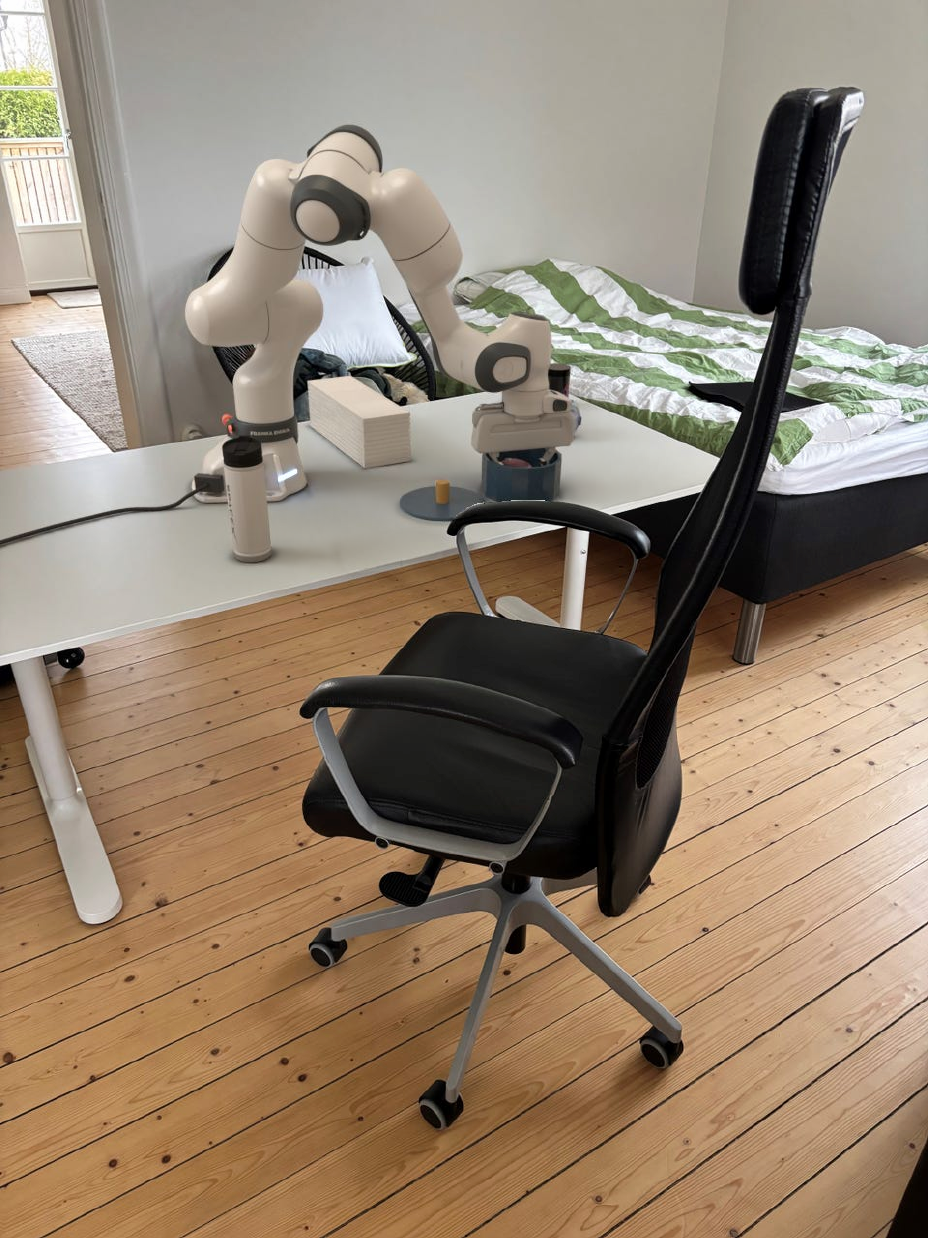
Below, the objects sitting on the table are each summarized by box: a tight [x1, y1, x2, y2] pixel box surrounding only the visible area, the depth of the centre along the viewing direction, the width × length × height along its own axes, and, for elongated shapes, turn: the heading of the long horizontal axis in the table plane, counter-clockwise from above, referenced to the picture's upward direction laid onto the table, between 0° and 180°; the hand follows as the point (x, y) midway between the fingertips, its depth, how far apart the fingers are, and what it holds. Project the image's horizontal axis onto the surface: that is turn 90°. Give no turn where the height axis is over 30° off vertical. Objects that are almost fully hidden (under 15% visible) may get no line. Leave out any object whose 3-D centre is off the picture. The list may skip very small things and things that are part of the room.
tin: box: [480, 448, 563, 503], centre depth 183 cm, size 15×15×8 cm
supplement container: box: [548, 362, 572, 399], centre depth 234 cm, size 7×7×10 cm
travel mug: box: [222, 435, 272, 564], centre depth 153 cm, size 6×7×20 cm
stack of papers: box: [307, 375, 411, 469], centre depth 207 cm, size 32×11×11 cm, turn 29°
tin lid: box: [399, 478, 486, 522], centre depth 177 cm, size 16×16×5 cm
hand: (521, 470), depth 182 cm, fingers open, 8 cm apart
